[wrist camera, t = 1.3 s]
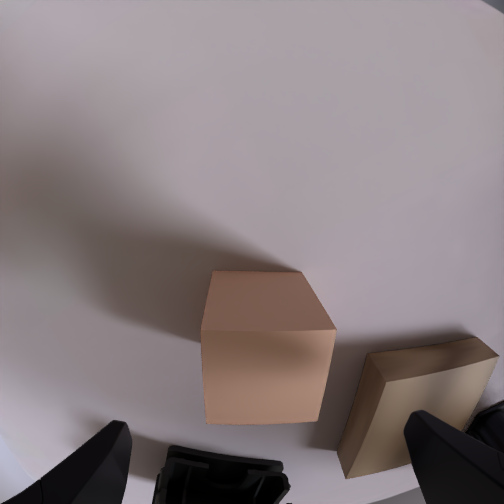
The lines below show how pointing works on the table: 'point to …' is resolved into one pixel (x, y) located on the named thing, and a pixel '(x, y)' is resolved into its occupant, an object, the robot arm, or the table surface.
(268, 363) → the terracotta block
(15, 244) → the table surface
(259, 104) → the table surface
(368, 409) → the tan block
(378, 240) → the table surface
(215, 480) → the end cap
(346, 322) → the table surface
